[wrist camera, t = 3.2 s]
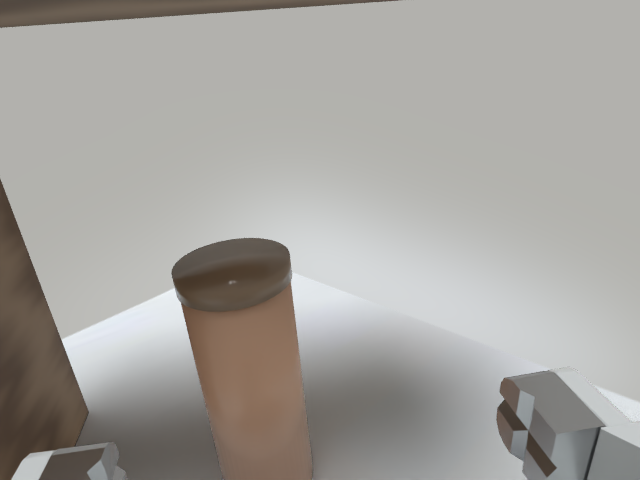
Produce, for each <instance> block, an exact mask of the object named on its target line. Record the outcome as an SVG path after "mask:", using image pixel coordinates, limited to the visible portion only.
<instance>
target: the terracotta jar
mask: <svg viewBox="0 0 640 480" xmlns="http://www.w3.org/2000/svg"><path fill="white" fill-rule="evenodd" d="M172 278H173V282H174V285H175V290H176V294H177V298H178V299H179V301H180V302H181V305H182V309H183V313H184V317H185V322H186V326H187V330H188V334H189V338H190V343H191V347H192V351H193V355H194V359H195V364H196V368H197V372H198V376H199V380H200V385H201V389H202V393H203V397H204V401H205V406H206V410H207V414H208V418H209V422H210V427H211V431H212V435H213V439H214V443H215V448H216V452H217V456H218V460H219V464H220V469H221V473H222V477H223V480H312V476H313V463H312V455H311V447H310V438H309V430H308V422H307V413H306V405H305V397H304V389H303V380H302V372H301V364H300V355H299V347H298V339H297V330H296V322H295V314H294V305H293V297H292V289H291V279H292V270H291V262H290V254H289V251H288V249H287V248H286V247H285V246H284V245H282V244H280V243H278V242H276V241H272V240H268V239H260V238H243V239H232V240H226V241H221V242H217V243H214V244H210V245H207V246H204V247H201V248H198V249H196V250H194V251H192V252H190V253H188V254H187V255H185V256H184V257H182V258H181V259H180V260H179V261H178V262H177V263H176V264H175V266H174V267H173V269H172Z"/></svg>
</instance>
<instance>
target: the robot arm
mask: <svg viewBox="0 0 640 480" xmlns="http://www.w3.org/2000/svg"><path fill="white" fill-rule="evenodd" d="M500 393H501V395H502V396H503V397H504V399H505V400H504V401H503V402H502V403H501V404H500V406H499V407H498V408H497V419H496V420H497V425H498V429H499V433H500V436H501V438H502V440H503V443H504V444H505V446H506V447H507V449H508V450H509V452H510V453H511V454H512V455H514V456H516V457H517V458H519V459H521V460H522V461H523V470H522V472H523V473H524V475H525V476H526V478H527V479H528V480H640V421H636V422H631V421H630V420H629V419H628V418H627V417H626V416H625V415H624V414H623V413H622V412H621V411H620V410H619V409H618V408H617V407H616V406H614V405H613V404H612V403H611V402H610V401H609V400H608V399H607V398H606V397H605V396H604V395H603V394H602V393H601V392H600V391H599V390H598V389H597V388H595V387H594V386H593V385H592V384H591V383H590V382H589V381H588V380H587V379H586V378H585V377H584V376H583V375H582V374H581V373H579V372H578V370H576V369H574V368H572V367H565V368H559V369H553V370H548V371H542V372H536V373H530V374H524V375H519V376H513V377H507V378H504V379H503V381H502V382H501V387H500ZM119 456H120V454H119V452H118V449H117V447H116V444H115V443H112V442H106V443H99V444H92V445H85V446H77V447H70V448H63V449H57V450H52V451H44V452H37V453H30V454H29V455H28V456H27V457H26V458H24V459H23V460H22V462H21V463H20V465H19V467H18V469H17V470H16V472H15V474H14V476H13V477H12V479H11V480H128V478H127V474H126V471H125V470H123V469H121V468H120V467H118V466H117V462H118V459H119Z"/></svg>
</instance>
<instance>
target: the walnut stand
mask: <svg viewBox="0 0 640 480" xmlns="http://www.w3.org/2000/svg"><path fill="white" fill-rule="evenodd" d="M382 1H397V0H0V27H1V28H2V27H16V26H31V25H46V24H61V23H75V22H90V21H105V20H119V19H134V18H149V17H162V16H178V15H193V14H207V13H220V12H221V13H222V12H236V11H251V10H266V9H280V8H295V7H309V6H324V5H337V4H338V5H339V4H353V3H367V2H382ZM88 413H89V412H88V409H87V406H86V404H85V401H84V399H83V396H82V393H81V391H80V388H79V385H78V383H77V380H76V377H75V375H74V372H73V370H72V367H71V364H70V362H69V359H68V356H67V354H66V351H65V348H64V346H63V343H62V341H61V338H60V335H59V333H58V330H57V327H56V325H55V322H54V319H53V317H52V314H51V312H50V309H49V306H48V304H47V301H46V298H45V296H44V293H43V291H42V288H41V285H40V283H39V280H38V277H37V275H36V272H35V269H34V267H33V264H32V262H31V259H30V256H29V253H28V251H27V248H26V246H25V243H24V240H23V238H22V235H21V232H20V230H19V227H18V225H17V222H16V219H15V217H14V214H13V211H12V209H11V206H10V203H9V201H8V198H7V196H6V193H5V190H4V188H3V185H2V182H1V180H0V480H11V479H12V477H13V476H14V474H15V472H16V470H17V469H18V467H19V465H20V463H21V462H22V460H23V459H24V458H26V457H27V456H28V455H29V454H30V453H37V452H44V451H52V450H57V449H63V448H70V447H75V444H76V442H77V439H78V437H79V434H80V432H81V430H82V427H83V425H84V422H85V420H86V417H87V415H88Z"/></svg>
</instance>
